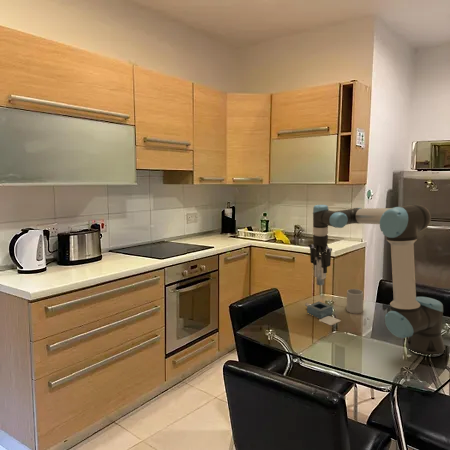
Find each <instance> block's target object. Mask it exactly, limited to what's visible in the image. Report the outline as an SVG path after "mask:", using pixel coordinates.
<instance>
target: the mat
mask: <svg viewBox="0 0 450 450" xmlns="http://www.w3.org/2000/svg"><path fill="white" fill-rule="evenodd" d="M318 322H320V323H324V324H326V325H329V326H334V325H336V324H337V323H340V322H342V320H341V319H339V318H335V317H333V316H332V315H330V316H327V317H324V318H322V319H319V320H318Z"/></svg>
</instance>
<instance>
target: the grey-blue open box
mask: <svg viewBox="0 0 450 450" xmlns="http://www.w3.org/2000/svg"><path fill="white" fill-rule="evenodd" d="M304 306H306V307H307V308H306V311H307V312H306V313H309V314H311V315H310V316H312V315H313V316H312V317H314V318H317V319H319V320H320V319H322V318H324V317H327V316H332V315H334V311H333V309H334V306H333V305H330V304H327V303H324V302H322V301H317V302H313V303H312V304H311V303H308V302H306V303H305V304H304ZM309 314H308V315H309Z"/></svg>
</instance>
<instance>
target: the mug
mask: <svg viewBox="0 0 450 450" xmlns="http://www.w3.org/2000/svg"><path fill="white" fill-rule="evenodd" d="M345 308H346V311H347V312H348V313H350V314H355V315H356V314H361V313H363V312H364V291H363V290H361V289H359V288H349V289H347V290H346V307H345Z"/></svg>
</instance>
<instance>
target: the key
mask: <svg viewBox="0 0 450 450" xmlns="http://www.w3.org/2000/svg"><path fill="white" fill-rule="evenodd" d="M315 260H316V277H315V278H316V283H315V284H316V285H317V286H324V285H325V279H321V273H322V266H323V264H322V258H321V255H319V256H318V257H315Z"/></svg>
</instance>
